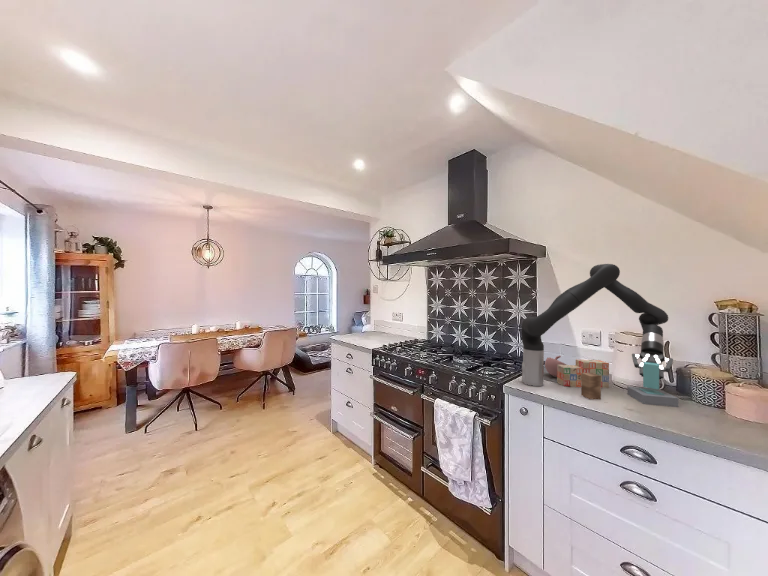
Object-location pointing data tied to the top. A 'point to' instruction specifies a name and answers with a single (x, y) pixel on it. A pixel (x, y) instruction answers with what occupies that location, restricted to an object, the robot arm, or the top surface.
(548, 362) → the pink apple
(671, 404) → the grey square base
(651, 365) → the teal block
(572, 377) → the stack of blocks
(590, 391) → the walnut block
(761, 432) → the top surface
